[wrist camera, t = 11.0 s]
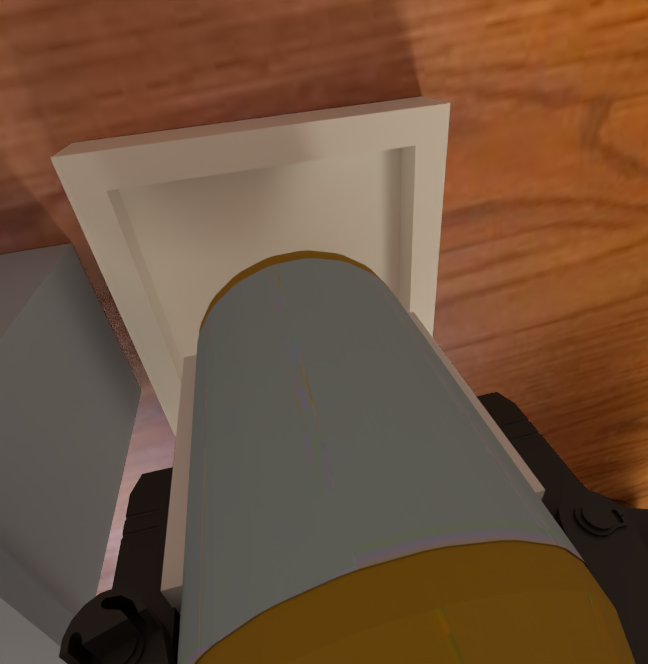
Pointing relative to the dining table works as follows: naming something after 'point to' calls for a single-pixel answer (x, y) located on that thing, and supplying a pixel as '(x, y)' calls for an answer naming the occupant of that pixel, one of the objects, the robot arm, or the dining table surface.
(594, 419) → the dining table surface
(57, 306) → the storage box
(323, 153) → the tray
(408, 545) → the bottle
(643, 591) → the robot arm
